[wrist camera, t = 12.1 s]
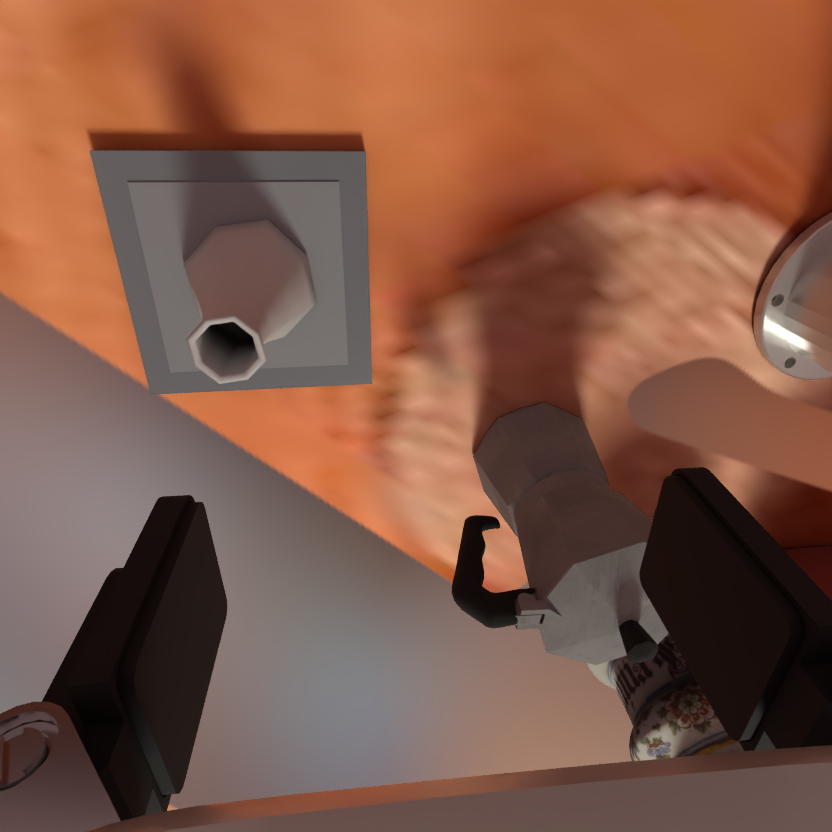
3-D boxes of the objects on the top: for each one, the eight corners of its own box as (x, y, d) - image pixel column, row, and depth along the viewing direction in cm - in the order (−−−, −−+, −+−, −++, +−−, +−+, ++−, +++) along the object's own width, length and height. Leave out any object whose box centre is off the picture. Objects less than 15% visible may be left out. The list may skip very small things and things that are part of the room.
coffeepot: (627, 401, 42) (803, 582, 26) (595, 501, 46) (730, 705, 31) (424, 397, 39) (487, 595, 24) (412, 503, 44) (458, 727, 28)
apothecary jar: (539, 585, 51) (632, 803, 35) (658, 517, 48) (814, 716, 33) (594, 649, 56) (695, 859, 41) (703, 590, 54) (853, 789, 39)
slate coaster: (364, 150, 31) (365, 151, 30) (371, 378, 38) (372, 384, 37) (95, 149, 29) (89, 150, 28) (154, 388, 36) (150, 395, 35)
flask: (337, 308, 34) (341, 380, 26) (235, 359, 35) (205, 446, 26) (273, 195, 31) (252, 235, 22) (160, 255, 31) (98, 316, 23)
